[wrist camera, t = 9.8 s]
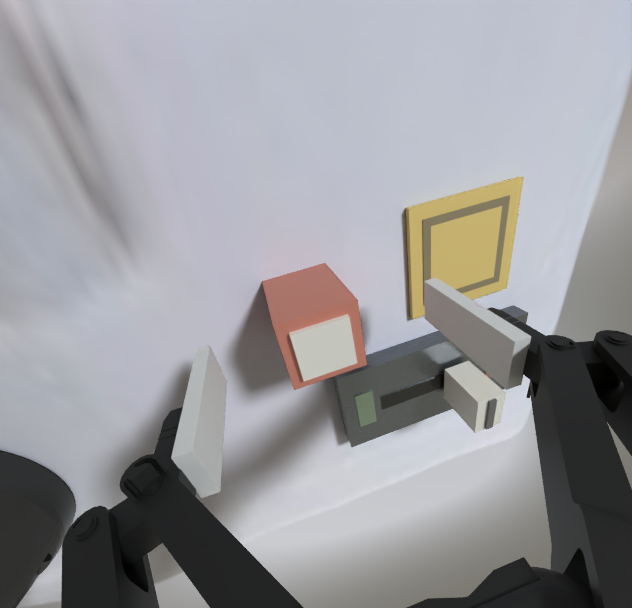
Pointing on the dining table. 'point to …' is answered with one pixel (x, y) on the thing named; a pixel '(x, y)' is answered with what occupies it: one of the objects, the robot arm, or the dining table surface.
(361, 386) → the breaker panel
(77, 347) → the dining table surface
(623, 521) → the robot arm
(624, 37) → the dining table surface
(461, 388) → the switch
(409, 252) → the pad
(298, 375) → the cap
